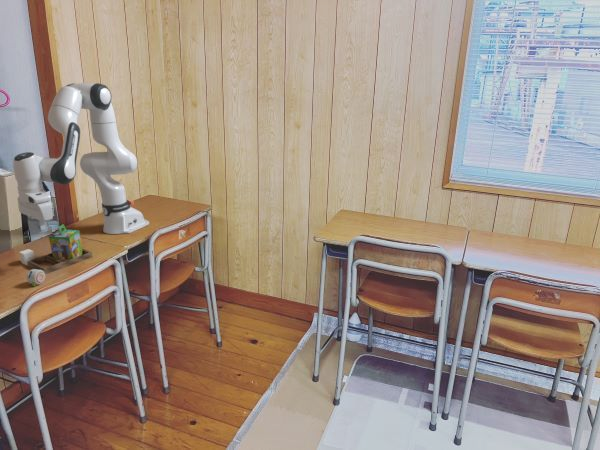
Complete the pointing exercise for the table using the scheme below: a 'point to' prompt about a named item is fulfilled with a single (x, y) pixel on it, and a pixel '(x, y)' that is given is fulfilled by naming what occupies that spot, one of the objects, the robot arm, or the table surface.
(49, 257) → the divider frame
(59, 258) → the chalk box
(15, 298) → the table surface
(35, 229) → the slate cube
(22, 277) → the table surface
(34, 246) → the table surface
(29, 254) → the eraser
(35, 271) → the roller toy
